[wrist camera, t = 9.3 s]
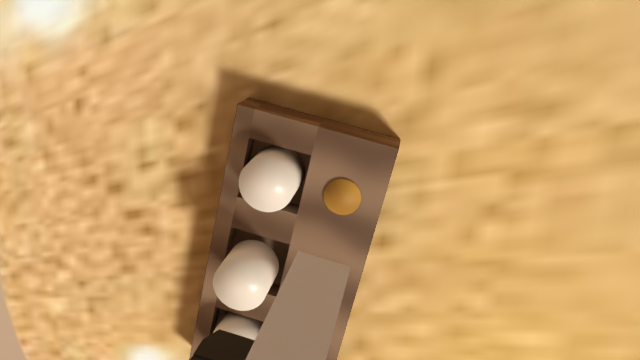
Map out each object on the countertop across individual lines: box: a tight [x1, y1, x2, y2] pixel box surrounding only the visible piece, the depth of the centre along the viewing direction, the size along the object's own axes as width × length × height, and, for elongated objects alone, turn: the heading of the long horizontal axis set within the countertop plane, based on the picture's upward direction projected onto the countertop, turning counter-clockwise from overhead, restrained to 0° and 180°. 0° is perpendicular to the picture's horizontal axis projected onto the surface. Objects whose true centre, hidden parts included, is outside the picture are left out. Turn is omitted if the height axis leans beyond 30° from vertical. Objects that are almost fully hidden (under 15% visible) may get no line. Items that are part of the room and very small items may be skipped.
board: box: [189, 98, 400, 360], centre depth 51 cm, size 26×13×3 cm, turn 167°
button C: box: [213, 311, 264, 340], centre depth 52 cm, size 4×4×4 cm
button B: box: [213, 240, 279, 311], centre depth 48 cm, size 4×4×4 cm
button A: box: [239, 145, 304, 212], centre depth 47 cm, size 4×4×4 cm
